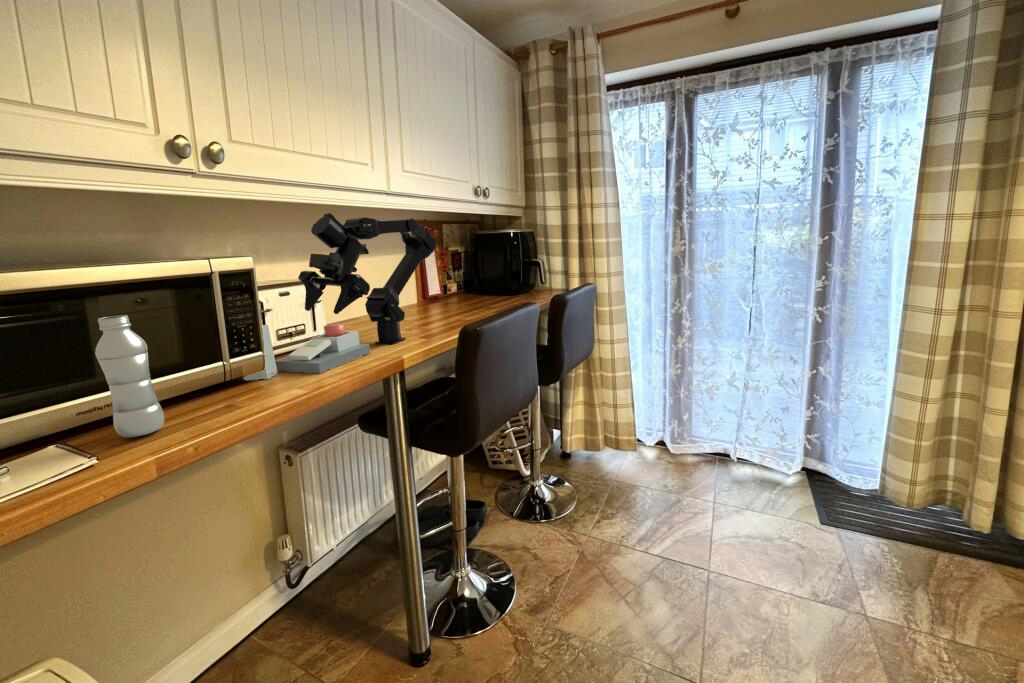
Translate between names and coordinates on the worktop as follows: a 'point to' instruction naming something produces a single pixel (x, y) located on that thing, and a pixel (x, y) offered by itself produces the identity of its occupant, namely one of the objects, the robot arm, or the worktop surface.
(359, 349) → the grey switch base
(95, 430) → the worktop surface
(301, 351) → the rocker switch
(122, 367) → the plastic bottle
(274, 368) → the grey tapered stand
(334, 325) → the breaker button
